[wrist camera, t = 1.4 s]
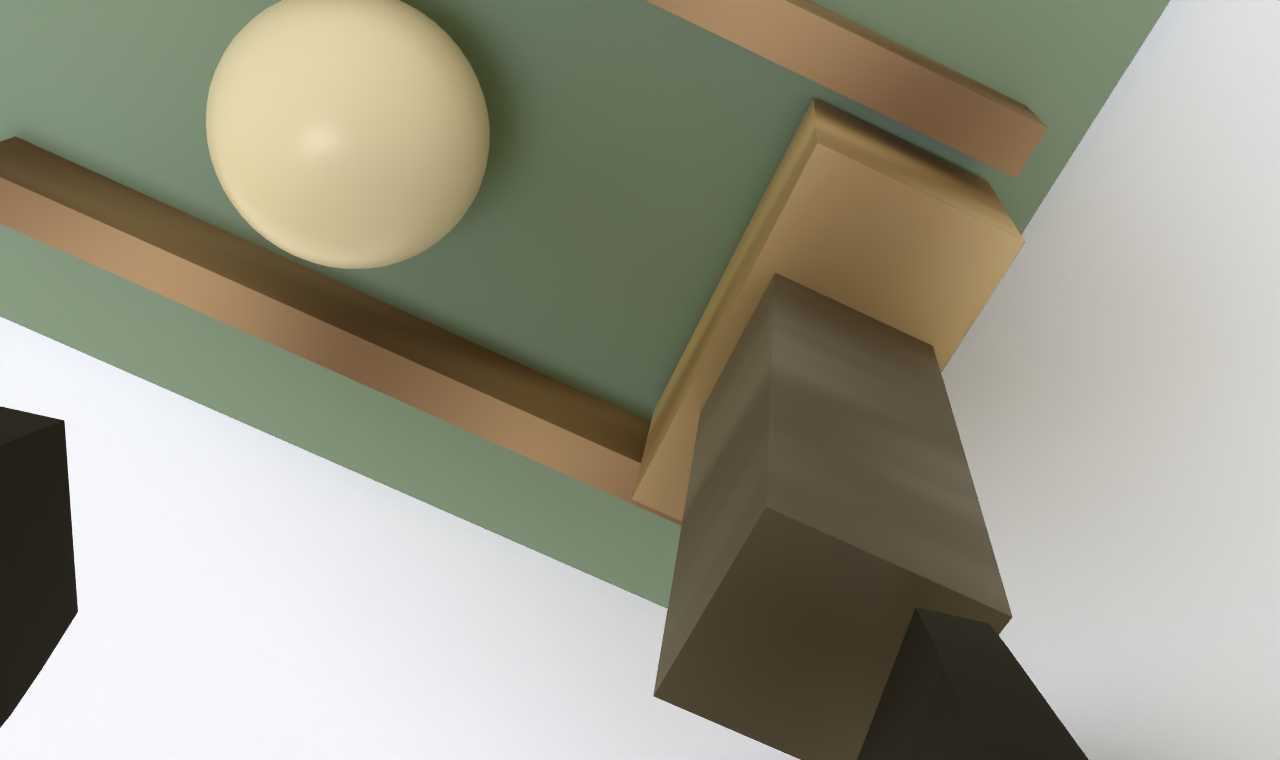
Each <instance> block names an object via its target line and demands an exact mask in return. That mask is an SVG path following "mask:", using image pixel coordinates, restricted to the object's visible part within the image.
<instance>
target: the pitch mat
mask: <svg viewBox="0 0 1280 760" xmlns="http://www.w3.org/2000/svg"><path fill="white" fill-rule="evenodd" d="M279 1H282V0H0V142H1V141H3V140H6V139H9V138H12V137H15V136H16V137H18V138H20V139H23V140H25V141H27V142H29V143H32V144H34V145H36V146H38V147H40V148H43V149H45V150H47V151H49V152H52V153H54V154H56V155H58V156H60V157H63V158H65V159H67V160H69V161H72V162H74V163H76V164H78V165H80V166H83V167H85V168H87V169H89V170H92V171H94V172H96V173H98V174H100V175H103V176H105V177H107V178H109V179H112V180H114V181H116V182H118V183H120V184H123V185H125V186H127V187H129V188H131V189H134V190H136V191H138V192H140V193H143V194H145V195H147V196H149V197H151V198H154V199H156V200H158V201H160V202H163V203H165V204H167V205H169V206H171V207H174V208H176V209H178V210H180V211H183V212H185V213H187V214H189V215H191V216H194V217H196V218H198V219H200V220H203V221H205V222H207V223H209V224H211V225H214V226H216V227H218V228H220V229H223V230H225V231H227V232H229V233H231V234H234V235H236V236H238V237H240V238H243V239H245V240H247V241H249V242H251V243H254V244H256V245H258V246H260V247H262V248H265V249H267V250H269V251H271V252H274V253H276V254H278V255H280V256H282V257H285V258H287V259H289V260H291V261H294V262H296V263H298V264H300V265H302V266H305V267H307V268H309V269H311V270H314V271H316V272H318V273H320V274H322V275H325V276H327V277H329V278H331V279H334V280H336V281H338V282H340V283H342V284H345V285H347V286H349V287H351V288H354V289H356V290H358V291H360V292H362V293H365V294H367V295H369V296H371V297H374V298H376V299H378V300H380V301H382V302H385V303H387V304H389V305H391V306H393V307H396V308H398V309H400V310H402V311H405V312H407V313H409V314H411V315H413V316H416V317H418V318H420V319H422V320H425V321H427V322H429V323H431V324H433V325H436V326H438V327H440V328H442V329H445V330H447V331H449V332H451V333H453V334H456V335H458V336H460V337H462V338H465V339H467V340H469V341H471V342H473V343H476V344H478V345H480V346H482V347H485V348H487V349H489V350H491V351H493V352H496V353H498V354H500V355H502V356H505V357H507V358H509V359H511V360H513V361H516V362H518V363H520V364H522V365H524V366H527V367H529V368H531V369H533V370H536V371H538V372H540V373H542V374H544V375H547V376H549V377H551V378H553V379H556V380H558V381H560V382H562V383H564V384H567V385H569V386H571V387H573V388H576V389H578V390H580V391H582V392H584V393H587V394H589V395H591V396H593V397H596V398H598V399H600V400H602V401H604V402H607V403H609V404H611V405H613V406H616V407H618V408H620V409H622V410H624V411H627V412H629V413H631V414H633V415H636V416H638V417H640V418H642V419H644V420H647V421H649V422H651V420H652V416H653V412H654V409H655V407H656V405H657V404H658V402H659V400H660V398H661V396H662V394H663V392H664V390H665V388H666V386H667V384H668V382H669V380H670V378H671V376H672V374H673V372H674V370H675V368H676V366H677V364H678V362H679V360H680V358H681V356H682V354H683V352H684V351H685V349H686V347H687V345H688V343H689V341H690V339H691V337H692V335H693V333H694V331H695V329H696V327H697V325H698V323H699V321H700V319H701V317H702V315H703V313H704V311H705V309H706V307H707V305H708V303H709V301H710V299H711V297H712V296H713V294H714V292H715V290H716V288H717V286H718V284H719V282H720V280H721V278H722V276H723V274H724V272H725V270H726V268H727V266H728V264H729V262H730V260H731V258H732V256H733V254H734V252H735V250H736V248H737V246H738V244H739V242H740V241H741V239H742V237H743V235H744V233H745V231H746V229H747V227H748V225H749V223H750V221H751V219H752V217H753V215H754V213H755V211H756V209H757V207H758V205H759V203H760V201H761V199H762V197H763V195H764V193H765V191H766V189H767V187H768V186H769V184H770V182H771V180H772V178H773V176H774V174H775V172H776V170H777V168H778V166H779V164H780V162H781V160H782V158H783V156H784V154H785V152H786V150H787V148H788V146H789V144H790V142H791V140H792V138H793V136H794V134H795V133H796V131H797V129H798V127H799V125H800V123H801V121H802V119H803V117H804V115H805V113H806V111H807V109H808V107H809V105H810V103H811V101H812V99H813V98H815V99H817V100H819V101H821V102H823V103H825V104H828V105H830V106H832V107H834V108H836V109H838V110H840V111H842V112H844V113H846V114H848V115H851V116H853V117H855V118H857V119H859V120H861V121H863V122H865V123H867V124H869V125H871V126H874V127H876V128H878V129H880V130H882V131H884V132H886V133H888V134H890V135H892V136H894V137H897V138H899V139H901V140H903V141H905V142H907V143H909V144H911V145H913V146H915V147H917V148H920V149H922V150H924V151H926V152H928V153H930V154H932V155H934V156H936V157H938V158H940V159H942V160H945V161H947V162H949V163H951V164H953V165H955V166H957V167H959V168H961V169H963V170H965V171H968V172H970V173H972V174H974V175H976V176H978V177H980V178H982V179H984V180H986V181H988V182H989V184H990V186H991V187H992V189H993V190H994V192H995V194H996V195H997V197H998V199H999V200H1000V202H1001V204H1002V205H1003V207H1004V208H1005V210H1006V212H1007V213H1008V215H1009V217H1010V218H1011V220H1012V221H1013V223H1014V225H1015V226H1016V228H1017V230H1018V231H1019V233H1020V234H1022V232H1023V231H1024V229H1025V228H1026V226H1027V224H1028V223H1029V221H1030V220H1031V218H1032V217H1033V215H1034V213H1035V212H1036V210H1037V209H1038V207H1039V206H1040V204H1041V202H1042V201H1043V199H1044V198H1045V196H1046V195H1047V193H1048V191H1049V190H1050V188H1051V187H1052V185H1053V184H1054V182H1055V180H1056V179H1057V177H1058V176H1059V174H1060V173H1061V171H1062V169H1063V168H1064V166H1065V165H1066V163H1067V162H1068V160H1069V158H1070V157H1071V155H1072V154H1073V152H1074V151H1075V149H1076V147H1077V146H1078V144H1079V143H1080V141H1081V140H1082V138H1083V136H1084V135H1085V133H1086V132H1087V130H1088V129H1089V127H1090V125H1091V124H1092V122H1093V121H1094V119H1095V118H1096V116H1097V114H1098V113H1099V111H1100V110H1101V108H1102V107H1103V105H1104V103H1105V102H1106V100H1107V99H1108V97H1109V96H1110V94H1111V92H1112V91H1113V89H1114V88H1115V86H1116V85H1117V83H1118V81H1119V80H1120V78H1121V77H1122V75H1123V74H1124V72H1125V70H1126V69H1127V67H1128V66H1129V64H1130V63H1131V61H1132V59H1133V58H1134V56H1135V55H1136V53H1137V52H1138V50H1139V48H1140V47H1141V45H1142V44H1143V42H1144V41H1145V39H1146V37H1147V36H1148V34H1149V33H1150V31H1151V30H1152V28H1153V26H1154V25H1155V23H1156V22H1157V20H1158V19H1159V17H1160V16H1161V14H1162V12H1163V11H1164V9H1165V8H1166V6H1167V5H1168V3H1169V1H1170V0H809V1H812V2H814V3H816V4H818V5H820V6H822V7H824V8H826V9H828V10H830V11H832V12H834V13H836V14H838V15H840V16H842V17H844V18H847V19H849V20H851V21H853V22H855V23H857V24H859V25H861V26H863V27H865V28H867V29H869V30H871V31H873V32H875V33H877V34H880V35H882V36H884V37H886V38H888V39H890V40H892V41H894V42H896V43H898V44H900V45H902V46H904V47H906V48H908V49H910V50H912V51H915V52H917V53H919V54H921V55H923V56H925V57H927V58H929V59H931V60H933V61H935V62H937V63H939V64H941V65H943V66H945V67H948V68H950V69H952V70H954V71H956V72H958V73H960V74H962V75H964V76H966V77H968V78H970V79H972V80H974V81H976V82H978V83H980V84H983V85H985V86H987V87H989V88H991V89H993V90H995V91H997V92H999V93H1001V94H1003V95H1005V96H1007V97H1009V98H1011V99H1013V100H1015V101H1018V102H1020V103H1022V104H1024V105H1026V106H1027V107H1028V108H1029V109H1030V110H1031V111H1032V112H1033V113H1034V114H1035V115H1036V116H1037V117H1038V118H1039V119H1040V120H1041V121H1042V122H1043V123H1044V124H1045V125H1046V126H1047V127H1048V128H1047V130H1046V131H1045V133H1044V134H1043V136H1042V138H1041V139H1040V141H1039V143H1038V144H1037V146H1036V147H1035V149H1034V151H1033V152H1032V154H1031V155H1030V157H1029V159H1028V160H1027V162H1026V164H1025V165H1024V167H1023V168H1022V170H1021V172H1020V173H1019V175H1018V176H1017V178H1014V177H1012V176H1010V175H1008V174H1006V173H1004V172H1002V171H1000V170H998V169H996V168H994V167H992V166H989V165H987V164H985V163H983V162H981V161H979V160H977V159H975V158H973V157H971V156H969V155H967V154H964V153H962V152H960V151H958V150H956V149H954V148H952V147H950V146H948V145H946V144H944V143H942V142H939V141H937V140H935V139H933V138H931V137H929V136H927V135H925V134H923V133H921V132H919V131H917V130H914V129H912V128H910V127H908V126H906V125H904V124H902V123H900V122H898V121H896V120H894V119H892V118H889V117H887V116H885V115H883V114H881V113H879V112H877V111H875V110H873V109H871V108H869V107H867V106H864V105H862V104H860V103H858V102H856V101H854V100H852V99H850V98H848V97H846V96H844V95H841V94H839V93H837V92H835V91H833V90H831V89H829V88H827V87H825V86H823V85H821V84H819V83H816V82H814V81H812V80H810V79H808V78H806V77H804V76H802V75H800V74H798V73H796V72H794V71H791V70H789V69H787V68H785V67H783V66H781V65H779V64H777V63H775V62H773V61H771V60H769V59H766V58H764V57H762V56H760V55H758V54H756V53H754V52H752V51H750V50H748V49H746V48H744V47H741V46H739V45H737V44H735V43H733V42H731V41H729V40H727V39H725V38H723V37H721V36H719V35H716V34H714V33H712V32H710V31H708V30H706V29H704V28H702V27H700V26H698V25H696V24H694V23H691V22H689V21H687V20H685V19H683V18H681V17H679V16H677V15H675V14H673V13H671V12H669V11H666V10H664V9H662V8H660V7H658V6H656V5H654V4H652V3H650V2H648V1H646V0H400V1H402V2H404V3H406V4H408V5H410V6H412V7H413V8H415V9H417V10H419V11H420V12H422V13H423V14H425V15H426V16H427V17H429V18H430V19H431V20H433V21H434V22H435V23H436V24H437V25H439V26H440V27H441V28H442V29H443V30H444V31H445V32H446V33H447V34H448V35H449V36H450V37H451V38H452V40H453V41H454V42H455V43H456V44H457V46H458V47H459V48H460V49H461V51H462V52H463V54H464V55H465V57H466V58H467V60H468V61H469V63H470V65H471V67H472V69H473V71H474V73H475V75H476V77H477V79H478V81H479V84H480V86H481V89H482V92H483V95H484V98H485V102H486V107H487V111H488V117H489V127H490V145H489V153H488V160H487V166H486V170H485V174H484V177H483V180H482V183H481V186H480V188H479V190H478V193H477V195H476V197H475V199H474V201H473V202H472V204H471V205H470V207H469V208H468V210H467V212H466V213H465V215H464V216H463V218H462V219H461V220H460V221H459V222H458V224H457V225H456V226H455V227H454V228H453V229H452V230H451V231H450V232H449V233H448V234H447V235H446V236H444V237H443V238H442V239H441V240H440V241H438V242H437V243H436V244H435V245H433V246H432V247H430V248H428V249H427V250H425V251H424V252H422V253H420V254H418V255H416V256H413V257H411V258H409V259H407V260H404V261H401V262H398V263H395V264H391V265H388V266H384V267H377V268H369V269H342V268H334V267H328V266H324V265H320V264H316V263H312V262H310V261H307V260H304V259H302V258H299V257H297V256H294V255H292V254H290V253H288V252H286V251H284V250H282V249H280V248H279V247H277V246H276V245H274V244H273V243H271V242H270V241H268V240H267V239H265V238H264V237H263V236H262V235H261V234H260V233H258V232H257V231H256V230H255V229H254V228H253V227H252V226H251V225H250V224H249V223H248V222H247V221H246V220H245V219H244V218H243V217H242V216H241V215H240V213H239V212H238V211H237V209H236V208H235V207H234V205H233V204H232V203H231V201H230V199H229V198H228V196H227V195H226V193H225V191H224V190H223V188H222V186H221V183H220V181H219V179H218V177H217V175H216V172H215V169H214V166H213V163H212V161H211V157H210V152H209V148H208V143H207V133H206V108H207V99H208V94H209V88H210V85H211V82H212V78H213V75H214V72H215V70H216V68H217V66H218V64H219V62H220V60H221V58H222V56H223V54H224V52H225V50H226V48H227V47H228V46H229V44H230V43H231V41H232V40H233V38H234V37H235V36H236V35H237V34H238V33H239V32H240V31H241V30H242V29H243V28H244V27H245V26H246V25H247V24H248V23H249V22H250V21H251V20H252V19H253V18H254V17H256V16H257V15H258V14H259V13H261V12H262V11H263V10H265V9H266V8H268V7H270V6H272V5H274V4H276V3H278V2H279ZM0 316H1V317H3V318H5V319H8V320H10V321H12V322H14V323H17V324H19V325H21V326H24V327H26V328H28V329H30V330H33V331H35V332H37V333H39V334H42V335H44V336H46V337H49V338H51V339H53V340H55V341H58V342H60V343H62V344H65V345H67V346H69V347H71V348H74V349H76V350H78V351H81V352H83V353H85V354H87V355H90V356H92V357H94V358H97V359H99V360H101V361H103V362H106V363H108V364H110V365H113V366H115V367H117V368H119V369H122V370H124V371H126V372H129V373H131V374H133V375H135V376H138V377H140V378H142V379H145V380H147V381H149V382H151V383H154V384H156V385H158V386H161V387H163V388H165V389H167V390H170V391H172V392H174V393H177V394H179V395H181V396H183V397H186V398H188V399H190V400H193V401H195V402H197V403H199V404H202V405H204V406H206V407H209V408H211V409H213V410H215V411H218V412H220V413H222V414H224V415H227V416H229V417H231V418H234V419H236V420H238V421H240V422H243V423H245V424H247V425H250V426H252V427H254V428H256V429H259V430H261V431H263V432H266V433H268V434H270V435H272V436H275V437H277V438H279V439H282V440H284V441H286V442H288V443H291V444H293V445H295V446H298V447H300V448H302V449H304V450H307V451H309V452H311V453H314V454H316V455H318V456H320V457H323V458H325V459H327V460H330V461H332V462H334V463H336V464H339V465H341V466H343V467H346V468H348V469H350V470H352V471H355V472H357V473H359V474H362V475H364V476H366V477H368V478H371V479H373V480H375V481H378V482H380V483H382V484H384V485H387V486H389V487H391V488H394V489H396V490H398V491H400V492H403V493H405V494H407V495H409V496H412V497H414V498H416V499H419V500H421V501H423V502H425V503H428V504H430V505H432V506H435V507H437V508H439V509H441V510H444V511H446V512H448V513H451V514H453V515H455V516H457V517H460V518H462V519H464V520H467V521H469V522H471V523H473V524H476V525H478V526H480V527H483V528H485V529H487V530H489V531H492V532H494V533H496V534H499V535H501V536H503V537H505V538H508V539H510V540H512V541H515V542H517V543H519V544H521V545H524V546H526V547H528V548H531V549H533V550H535V551H537V552H540V553H542V554H544V555H547V556H549V557H551V558H553V559H556V560H558V561H560V562H563V563H565V564H567V565H569V566H572V567H574V568H576V569H579V570H581V571H583V572H585V573H588V574H590V575H592V576H594V577H597V578H599V579H601V580H604V581H606V582H608V583H610V584H613V585H615V586H617V587H620V588H622V589H624V590H626V591H629V592H631V593H633V594H636V595H638V596H640V597H642V598H645V599H647V600H649V601H652V602H654V603H656V604H658V605H661V606H663V607H665V608H668V605H669V599H670V592H671V586H672V580H673V574H674V568H675V562H676V556H677V550H678V544H679V538H680V532H681V525H678V524H676V523H674V522H672V521H669V520H667V519H665V518H663V517H660V516H658V515H656V514H654V513H651V512H649V511H647V510H644V509H642V508H640V507H638V506H635V505H633V504H631V503H629V502H626V501H624V500H622V499H620V498H617V497H615V496H613V495H611V494H608V493H606V492H604V491H602V490H599V489H597V488H595V487H593V486H590V485H588V484H586V483H584V482H581V481H579V480H577V479H575V478H572V477H570V476H568V475H566V474H563V473H561V472H559V471H557V470H554V469H552V468H550V467H548V466H545V465H543V464H541V463H539V462H536V461H534V460H532V459H530V458H527V457H525V456H523V455H521V454H518V453H516V452H514V451H512V450H509V449H507V448H505V447H503V446H500V445H498V444H496V443H494V442H491V441H489V440H487V439H485V438H482V437H480V436H478V435H476V434H473V433H471V432H469V431H467V430H464V429H462V428H460V427H458V426H455V425H453V424H451V423H449V422H446V421H444V420H442V419H440V418H437V417H435V416H433V415H431V414H428V413H426V412H424V411H422V410H419V409H417V408H415V407H413V406H410V405H408V404H406V403H404V402H401V401H399V400H397V399H395V398H392V397H390V396H388V395H386V394H383V393H381V392H379V391H377V390H374V389H372V388H370V387H368V386H365V385H363V384H361V383H359V382H356V381H354V380H352V379H350V378H347V377H345V376H343V375H340V374H338V373H336V372H334V371H331V370H329V369H327V368H325V367H322V366H320V365H318V364H316V363H313V362H311V361H309V360H307V359H304V358H302V357H300V356H298V355H295V354H293V353H291V352H289V351H286V350H284V349H282V348H280V347H277V346H275V345H273V344H271V343H268V342H266V341H264V340H262V339H259V338H257V337H255V336H253V335H250V334H248V333H246V332H244V331H241V330H239V329H237V328H235V327H232V326H230V325H228V324H226V323H223V322H221V321H219V320H217V319H214V318H212V317H210V316H208V315H205V314H203V313H201V312H199V311H196V310H194V309H192V308H190V307H187V306H185V305H183V304H181V303H178V302H176V301H174V300H172V299H169V298H167V297H165V296H163V295H160V294H158V293H156V292H154V291H151V290H149V289H147V288H145V287H142V286H140V285H138V284H136V283H133V282H131V281H129V280H127V279H124V278H122V277H120V276H118V275H115V274H113V273H111V272H109V271H106V270H104V269H102V268H100V267H97V266H95V265H93V264H91V263H88V262H86V261H84V260H82V259H79V258H77V257H75V256H73V255H70V254H68V253H66V252H64V251H61V250H59V249H57V248H55V247H52V246H50V245H48V244H46V243H43V242H41V241H39V240H36V239H34V238H32V237H30V236H27V235H25V234H23V233H21V232H18V231H16V230H14V229H12V228H9V227H7V226H5V225H3V224H0Z"/></svg>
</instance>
